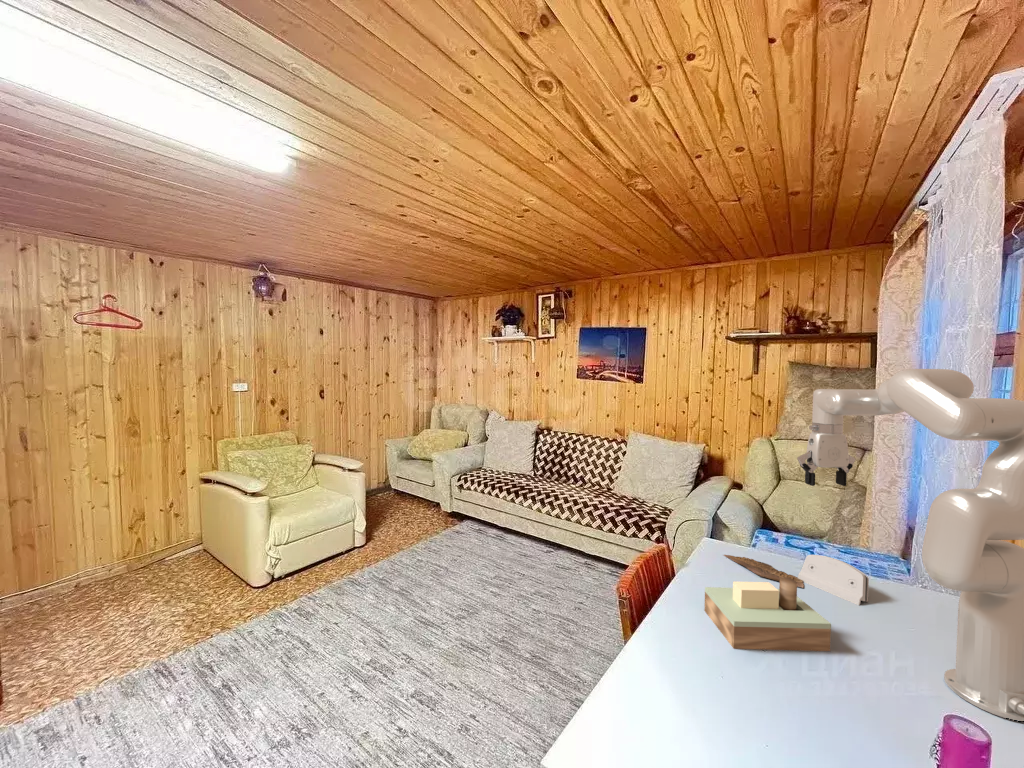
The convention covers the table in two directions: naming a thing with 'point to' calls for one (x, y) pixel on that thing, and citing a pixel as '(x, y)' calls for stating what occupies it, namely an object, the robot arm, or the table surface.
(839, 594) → the white curved device casing
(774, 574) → the wooden fragment
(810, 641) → the box with square hole
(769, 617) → the lid
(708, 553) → the table surface
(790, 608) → the pin
